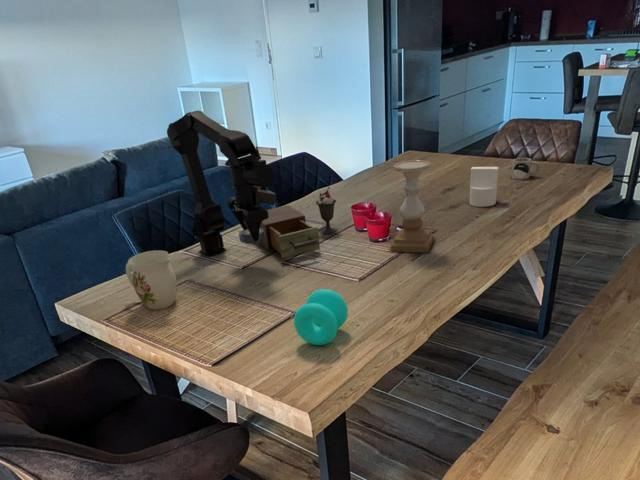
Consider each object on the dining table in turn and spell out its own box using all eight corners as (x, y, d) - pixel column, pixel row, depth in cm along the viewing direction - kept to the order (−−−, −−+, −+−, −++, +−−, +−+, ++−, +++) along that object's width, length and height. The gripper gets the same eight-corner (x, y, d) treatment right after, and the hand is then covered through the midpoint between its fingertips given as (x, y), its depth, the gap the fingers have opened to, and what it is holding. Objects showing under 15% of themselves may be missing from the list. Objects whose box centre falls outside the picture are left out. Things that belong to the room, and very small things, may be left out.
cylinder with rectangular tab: (467, 206, 197) (468, 171, 190) (471, 198, 204) (473, 164, 197) (493, 207, 193) (496, 171, 187) (497, 199, 200) (500, 164, 194)
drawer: (326, 253, 169) (324, 231, 165) (288, 263, 165) (285, 241, 161) (303, 237, 183) (301, 216, 179) (267, 246, 179) (264, 225, 175)
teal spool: (294, 345, 126) (289, 305, 121) (311, 323, 134) (306, 285, 128) (336, 350, 122) (332, 309, 117) (350, 327, 130) (348, 288, 125)
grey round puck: (249, 247, 160) (247, 237, 158) (235, 241, 165) (234, 232, 163) (269, 239, 163) (268, 230, 162) (255, 234, 168) (254, 225, 167)
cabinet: (307, 241, 182) (305, 215, 177) (268, 251, 178) (264, 224, 173) (291, 229, 193) (288, 205, 188) (254, 238, 189) (250, 213, 184)
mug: (511, 179, 219) (512, 162, 216) (511, 175, 224) (513, 158, 221) (538, 179, 216) (540, 161, 213) (538, 174, 222) (540, 157, 218)
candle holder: (433, 239, 173) (434, 159, 160) (427, 252, 164) (428, 169, 152) (398, 238, 176) (397, 159, 164) (390, 251, 168) (388, 169, 155)
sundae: (336, 234, 185) (333, 188, 177) (316, 235, 186) (312, 189, 178) (340, 227, 190) (336, 182, 182) (320, 228, 191) (316, 183, 184)
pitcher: (149, 290, 160) (136, 244, 153) (196, 299, 151) (185, 251, 144) (119, 306, 152) (104, 258, 145) (168, 317, 144) (154, 267, 136)
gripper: (282, 184, 150) (289, 240, 159) (259, 171, 165) (267, 223, 173) (243, 192, 147) (252, 249, 155) (223, 178, 162) (232, 231, 170)
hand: (252, 237), depth 163 cm, fingers closed on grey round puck, 7 cm apart
